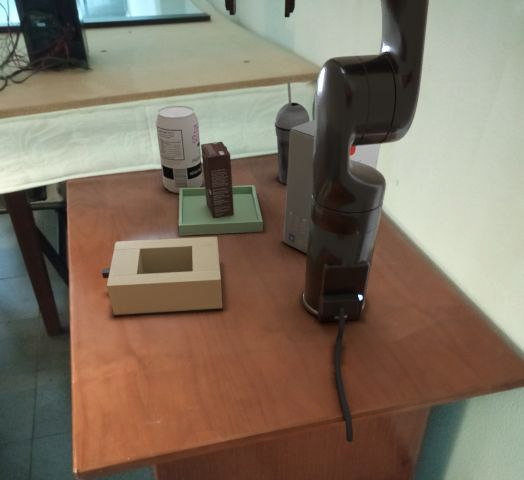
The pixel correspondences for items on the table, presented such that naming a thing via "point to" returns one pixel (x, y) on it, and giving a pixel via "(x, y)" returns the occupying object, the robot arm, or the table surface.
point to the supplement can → (179, 147)
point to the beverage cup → (287, 131)
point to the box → (218, 179)
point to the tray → (202, 222)
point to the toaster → (164, 276)
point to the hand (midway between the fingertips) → (260, 15)
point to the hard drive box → (309, 181)
